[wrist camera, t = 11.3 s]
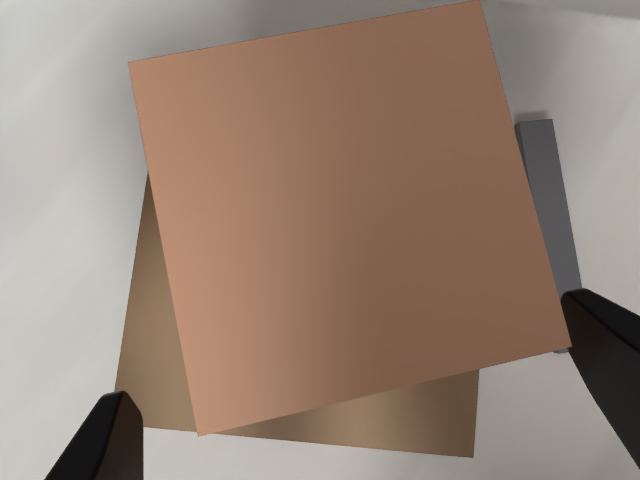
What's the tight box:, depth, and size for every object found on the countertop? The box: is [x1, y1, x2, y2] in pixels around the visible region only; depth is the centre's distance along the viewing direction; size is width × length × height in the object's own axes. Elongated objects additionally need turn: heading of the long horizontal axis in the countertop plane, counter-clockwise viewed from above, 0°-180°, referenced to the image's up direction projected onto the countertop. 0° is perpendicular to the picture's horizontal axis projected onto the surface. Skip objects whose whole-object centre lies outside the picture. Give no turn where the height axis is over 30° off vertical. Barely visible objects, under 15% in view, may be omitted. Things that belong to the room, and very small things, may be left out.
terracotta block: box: [128, 0, 572, 437], centre depth 12 cm, size 5×5×12 cm
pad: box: [114, 172, 479, 458], centre depth 18 cm, size 14×14×1 cm
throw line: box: [515, 119, 582, 353], centre depth 19 cm, size 10×2×1 cm, turn 7°
